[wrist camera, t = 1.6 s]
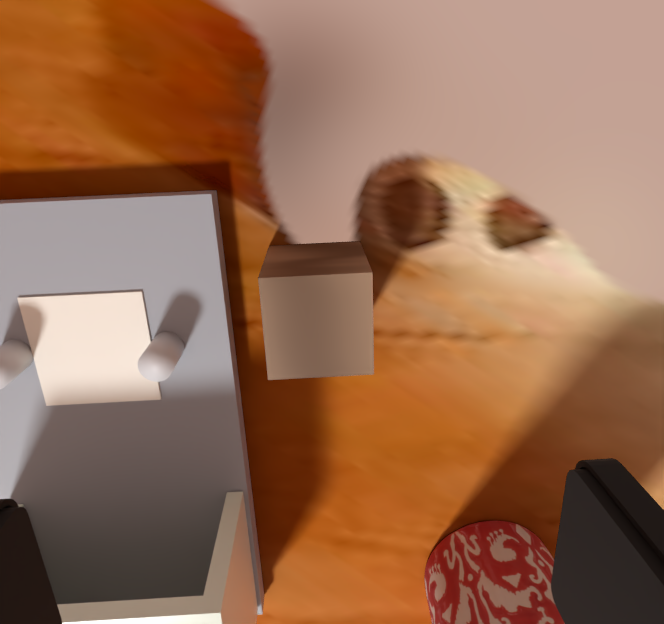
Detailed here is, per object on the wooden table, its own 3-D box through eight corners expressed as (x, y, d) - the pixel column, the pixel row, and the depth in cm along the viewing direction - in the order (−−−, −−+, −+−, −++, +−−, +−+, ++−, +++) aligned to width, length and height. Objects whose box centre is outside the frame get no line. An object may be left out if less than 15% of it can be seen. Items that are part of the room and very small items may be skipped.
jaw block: (360, 241, 23) (372, 272, 18) (361, 324, 24) (374, 374, 19) (269, 245, 23) (258, 278, 18) (276, 329, 24) (268, 380, 19)
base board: (216, 190, 22) (201, 200, 19) (264, 595, 30) (258, 648, 27) (-171, 208, 21) (-250, 222, 18) (-16, 612, 29) (-53, 668, 26)
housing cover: (242, 491, 25) (220, 612, 19) (257, 609, 28) (242, 748, 22) (6, 505, 25) (-95, 632, 19) (45, 622, 28) (-32, 767, 22)
